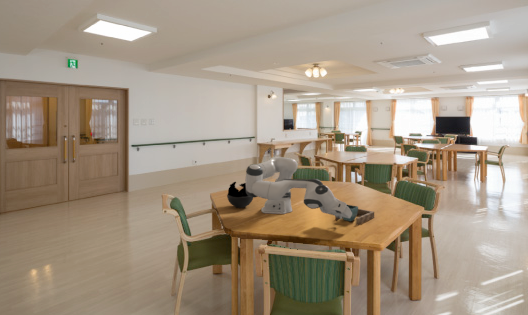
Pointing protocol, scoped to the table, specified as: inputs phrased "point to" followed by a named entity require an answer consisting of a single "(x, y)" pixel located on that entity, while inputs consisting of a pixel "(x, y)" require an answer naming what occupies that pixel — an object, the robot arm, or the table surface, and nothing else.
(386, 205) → the table surface
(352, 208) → the flower pot
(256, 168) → the robot arm
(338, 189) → the table surface
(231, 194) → the bowl of black rocks
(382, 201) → the table surface
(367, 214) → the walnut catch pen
